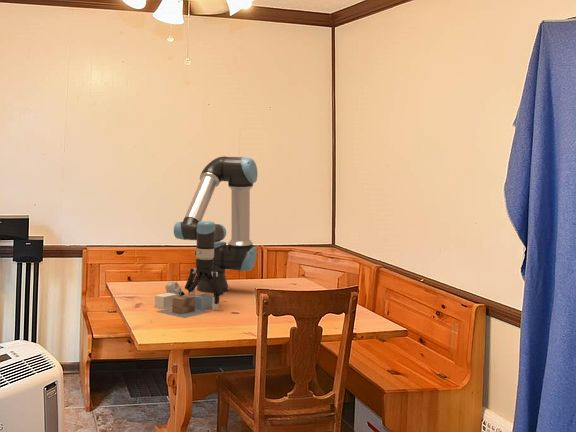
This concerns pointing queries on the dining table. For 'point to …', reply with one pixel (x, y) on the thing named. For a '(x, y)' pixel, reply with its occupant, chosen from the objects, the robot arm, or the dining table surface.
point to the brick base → (183, 304)
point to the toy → (174, 288)
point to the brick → (164, 300)
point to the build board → (185, 315)
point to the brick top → (203, 301)
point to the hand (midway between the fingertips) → (203, 309)
